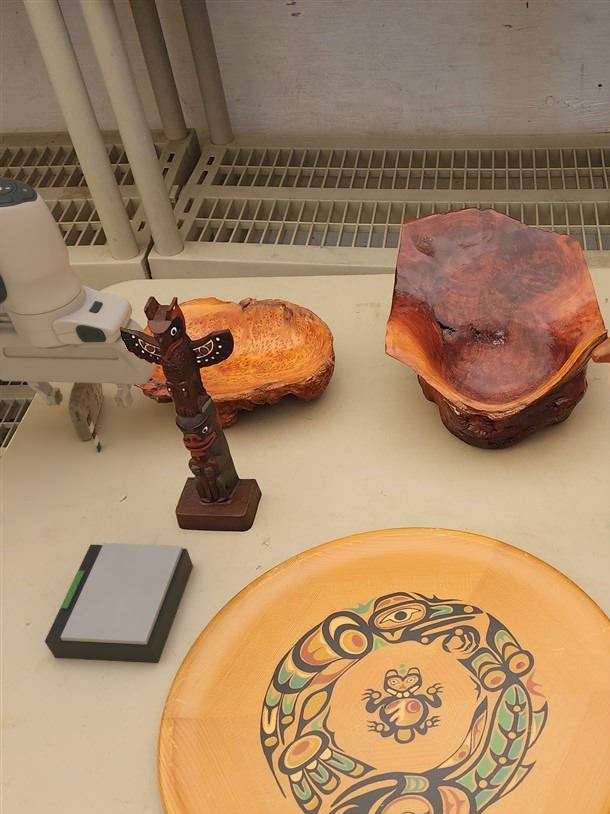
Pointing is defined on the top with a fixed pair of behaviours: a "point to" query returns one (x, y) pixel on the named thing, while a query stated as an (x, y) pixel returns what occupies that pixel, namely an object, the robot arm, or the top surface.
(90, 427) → the brown stone with scale
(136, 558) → the scale
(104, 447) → the top surface
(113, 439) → the top surface
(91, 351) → the robot arm
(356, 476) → the top surface
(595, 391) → the top surface
